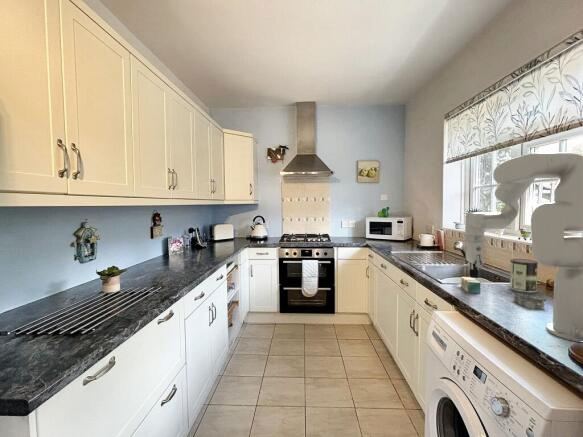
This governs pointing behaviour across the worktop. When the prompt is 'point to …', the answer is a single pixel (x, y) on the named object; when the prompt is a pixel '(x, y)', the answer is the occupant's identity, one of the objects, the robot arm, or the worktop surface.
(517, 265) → the coffee can
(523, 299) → the egg carton
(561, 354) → the worktop surface
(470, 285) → the maple block
